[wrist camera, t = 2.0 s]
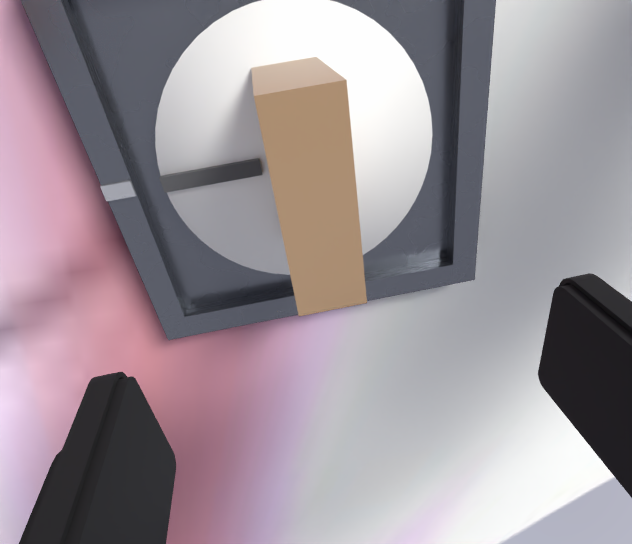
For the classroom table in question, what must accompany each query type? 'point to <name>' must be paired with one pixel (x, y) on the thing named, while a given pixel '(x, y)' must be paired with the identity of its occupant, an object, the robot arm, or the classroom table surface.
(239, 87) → the dial
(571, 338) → the robot arm
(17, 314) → the classroom table surface
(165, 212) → the dial housing
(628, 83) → the classroom table surface
